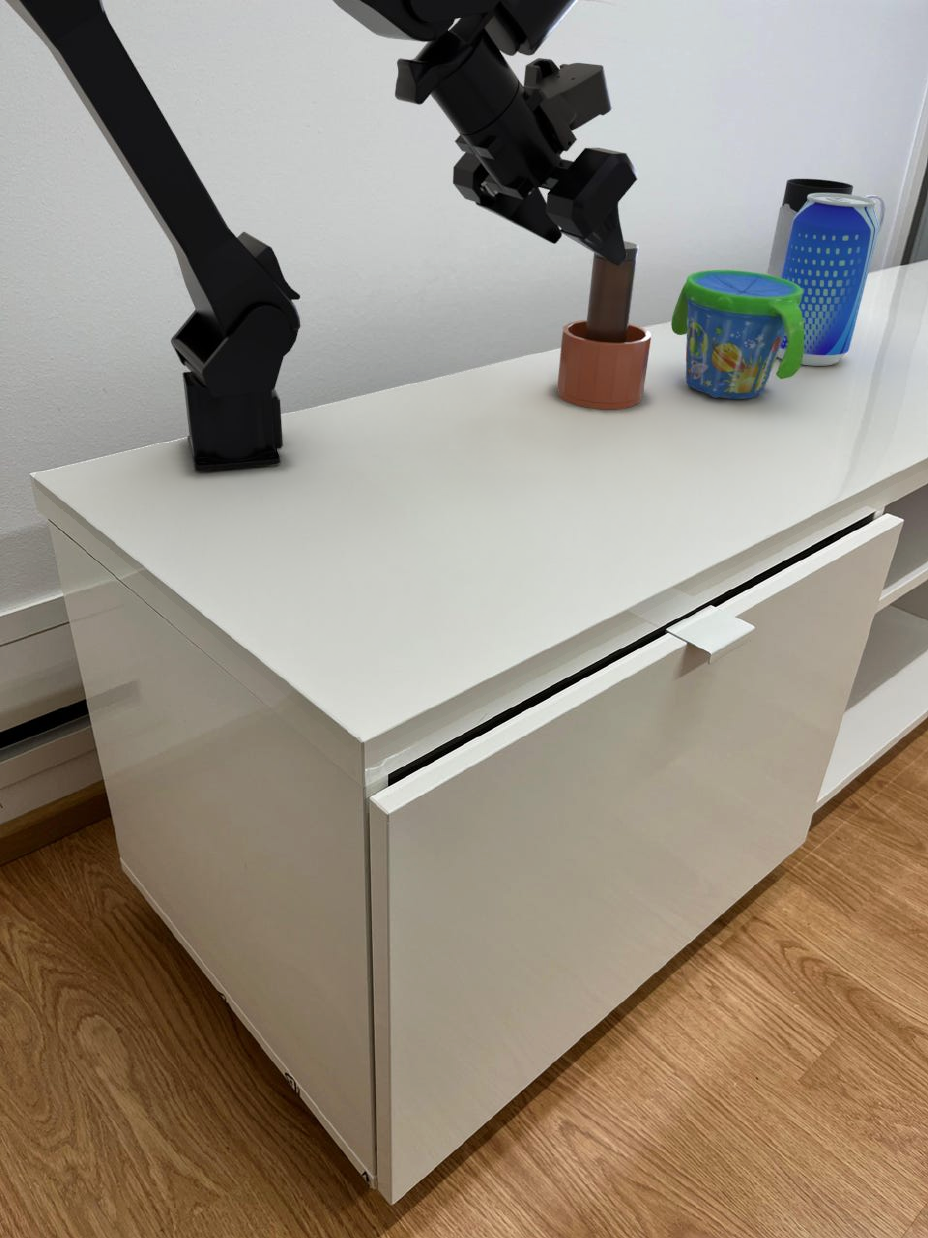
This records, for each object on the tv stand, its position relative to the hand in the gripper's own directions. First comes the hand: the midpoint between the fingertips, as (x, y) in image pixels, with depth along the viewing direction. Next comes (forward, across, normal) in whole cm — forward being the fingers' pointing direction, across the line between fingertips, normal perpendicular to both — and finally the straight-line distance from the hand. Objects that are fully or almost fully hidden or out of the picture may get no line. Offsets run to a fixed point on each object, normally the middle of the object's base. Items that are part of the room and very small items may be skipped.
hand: (588, 249), depth 84 cm
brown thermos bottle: (+11, 0, +7) cm, 13 cm away
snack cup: (+21, -4, -2) cm, 21 cm away
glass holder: (+43, +14, -24) cm, 51 cm away
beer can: (+32, +1, -13) cm, 35 cm away
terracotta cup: (+12, 0, +7) cm, 14 cm away
